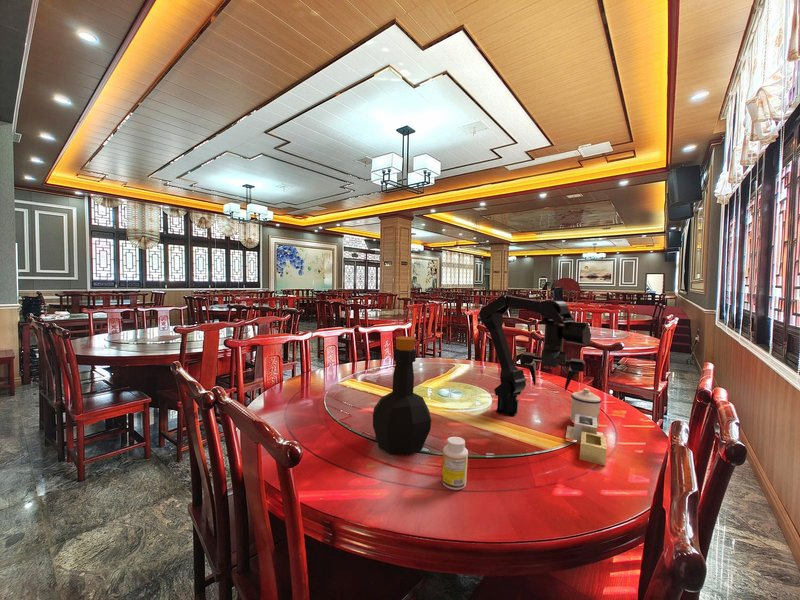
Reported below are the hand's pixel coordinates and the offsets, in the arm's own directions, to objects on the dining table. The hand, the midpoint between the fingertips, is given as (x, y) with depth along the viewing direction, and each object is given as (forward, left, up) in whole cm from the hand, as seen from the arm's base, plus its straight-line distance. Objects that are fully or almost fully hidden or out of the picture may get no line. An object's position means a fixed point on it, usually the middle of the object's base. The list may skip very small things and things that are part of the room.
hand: (549, 387), depth 117 cm
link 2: (+13, -14, -13) cm, 23 cm away
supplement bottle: (-15, -48, -13) cm, 52 cm away
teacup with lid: (+10, +13, -13) cm, 21 cm away
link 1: (+11, -3, -12) cm, 16 cm away
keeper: (+11, -3, -13) cm, 17 cm away
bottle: (-34, -38, -13) cm, 53 cm away
